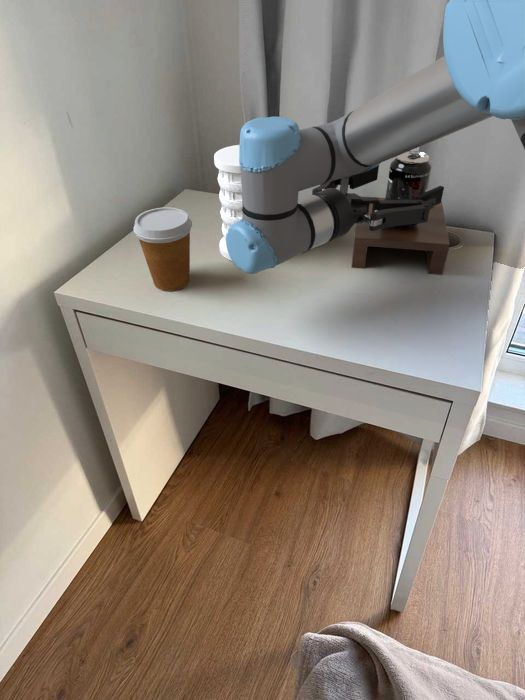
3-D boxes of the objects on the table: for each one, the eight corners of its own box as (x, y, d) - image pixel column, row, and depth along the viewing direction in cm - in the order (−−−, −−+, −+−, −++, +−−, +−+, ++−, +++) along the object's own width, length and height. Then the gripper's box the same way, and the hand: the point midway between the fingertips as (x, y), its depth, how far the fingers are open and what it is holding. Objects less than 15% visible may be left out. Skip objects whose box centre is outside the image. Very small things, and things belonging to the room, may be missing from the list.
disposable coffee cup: (133, 285, 88) (119, 221, 80) (172, 262, 93) (162, 201, 86) (171, 302, 83) (160, 237, 75) (209, 278, 89) (203, 215, 81)
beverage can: (427, 223, 90) (441, 156, 83) (405, 235, 87) (417, 166, 79) (396, 211, 94) (407, 146, 87) (374, 222, 91) (383, 156, 83)
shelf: (442, 274, 88) (449, 244, 84) (351, 267, 91) (354, 237, 87) (435, 229, 102) (441, 201, 98) (356, 223, 104) (359, 196, 100)
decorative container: (207, 247, 97) (198, 154, 86) (252, 229, 103) (249, 139, 92) (245, 270, 91) (240, 172, 79) (291, 249, 96) (292, 154, 85)
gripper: (266, 215, 85) (351, 183, 95) (379, 272, 70) (465, 227, 80) (265, 172, 80) (355, 143, 91) (386, 223, 66) (477, 181, 76)
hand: (407, 182), depth 86 cm, fingers open, 13 cm apart
